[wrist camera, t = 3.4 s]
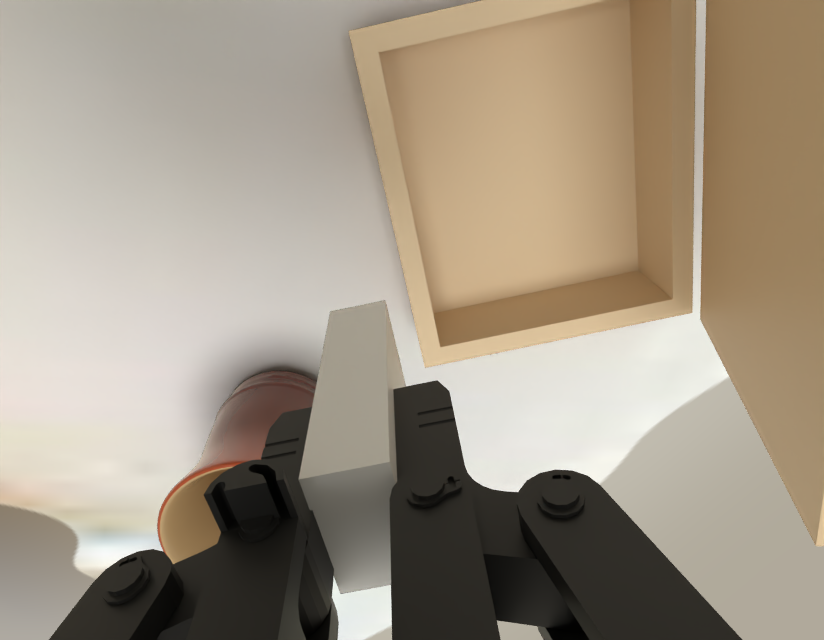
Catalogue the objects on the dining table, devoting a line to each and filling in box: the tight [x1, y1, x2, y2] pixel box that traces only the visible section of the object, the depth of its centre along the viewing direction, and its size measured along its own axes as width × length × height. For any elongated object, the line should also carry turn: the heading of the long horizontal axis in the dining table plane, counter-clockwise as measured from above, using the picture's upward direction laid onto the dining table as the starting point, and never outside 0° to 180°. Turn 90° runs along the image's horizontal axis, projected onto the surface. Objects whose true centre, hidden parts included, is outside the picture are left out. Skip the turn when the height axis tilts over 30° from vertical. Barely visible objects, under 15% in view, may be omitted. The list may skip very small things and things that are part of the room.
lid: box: [700, 0, 824, 546], centre depth 18 cm, size 16×14×4 cm
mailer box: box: [349, 0, 696, 368], centre depth 28 cm, size 16×14×5 cm
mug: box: [157, 371, 317, 564], centre depth 32 cm, size 12×9×10 cm
